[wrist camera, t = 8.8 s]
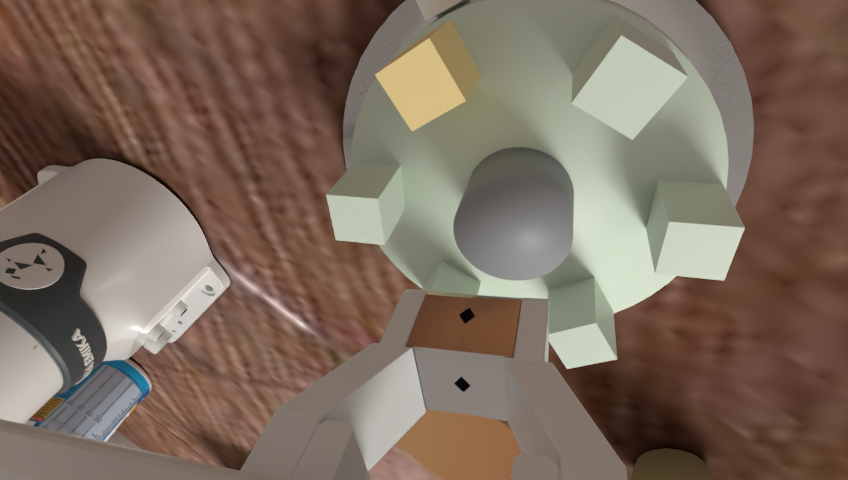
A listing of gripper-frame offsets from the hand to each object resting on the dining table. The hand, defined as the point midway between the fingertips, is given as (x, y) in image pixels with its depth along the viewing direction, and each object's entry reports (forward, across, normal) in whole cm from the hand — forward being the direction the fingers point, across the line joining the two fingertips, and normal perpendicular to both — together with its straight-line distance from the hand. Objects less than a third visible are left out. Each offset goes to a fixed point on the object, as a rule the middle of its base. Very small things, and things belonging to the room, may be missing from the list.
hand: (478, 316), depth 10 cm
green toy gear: (+19, -1, -7) cm, 20 cm away
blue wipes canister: (+21, -52, -35) cm, 66 cm away
